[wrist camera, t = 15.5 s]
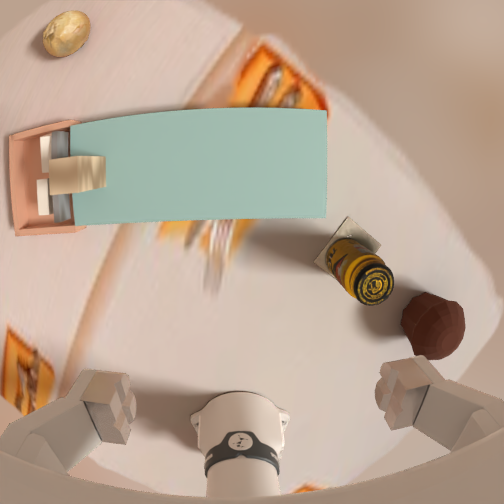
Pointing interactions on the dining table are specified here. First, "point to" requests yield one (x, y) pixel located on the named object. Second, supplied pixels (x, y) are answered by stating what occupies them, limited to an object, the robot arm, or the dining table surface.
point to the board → (205, 165)
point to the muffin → (433, 326)
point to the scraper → (71, 175)
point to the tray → (34, 182)
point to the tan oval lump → (66, 33)
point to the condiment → (357, 264)
